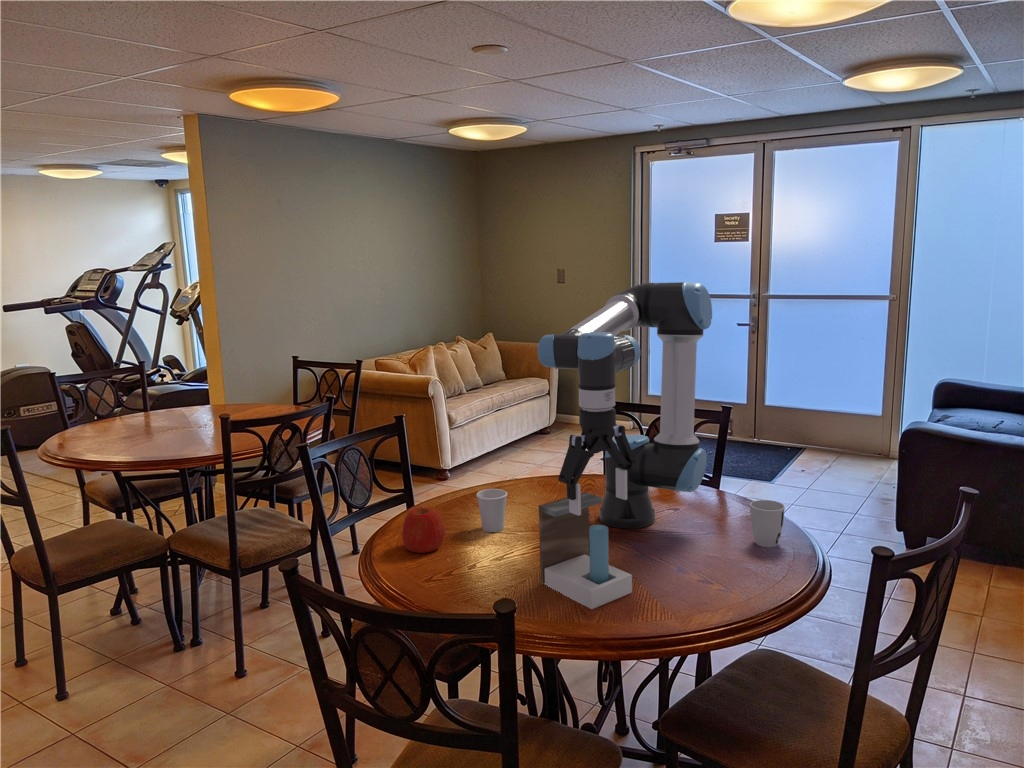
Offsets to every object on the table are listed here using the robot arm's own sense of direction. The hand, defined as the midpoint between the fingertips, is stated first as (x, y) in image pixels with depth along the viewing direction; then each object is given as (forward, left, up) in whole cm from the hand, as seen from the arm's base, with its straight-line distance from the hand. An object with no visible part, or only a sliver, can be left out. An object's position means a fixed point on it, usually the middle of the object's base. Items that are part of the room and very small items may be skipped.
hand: (599, 505), depth 156 cm
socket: (-3, 0, -20) cm, 20 cm away
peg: (0, 0, -20) cm, 20 cm away
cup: (+7, +51, -20) cm, 55 cm away
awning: (-10, +1, -20) cm, 22 cm away
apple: (-48, -15, -20) cm, 54 cm away
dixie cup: (-47, +6, -20) cm, 51 cm away
